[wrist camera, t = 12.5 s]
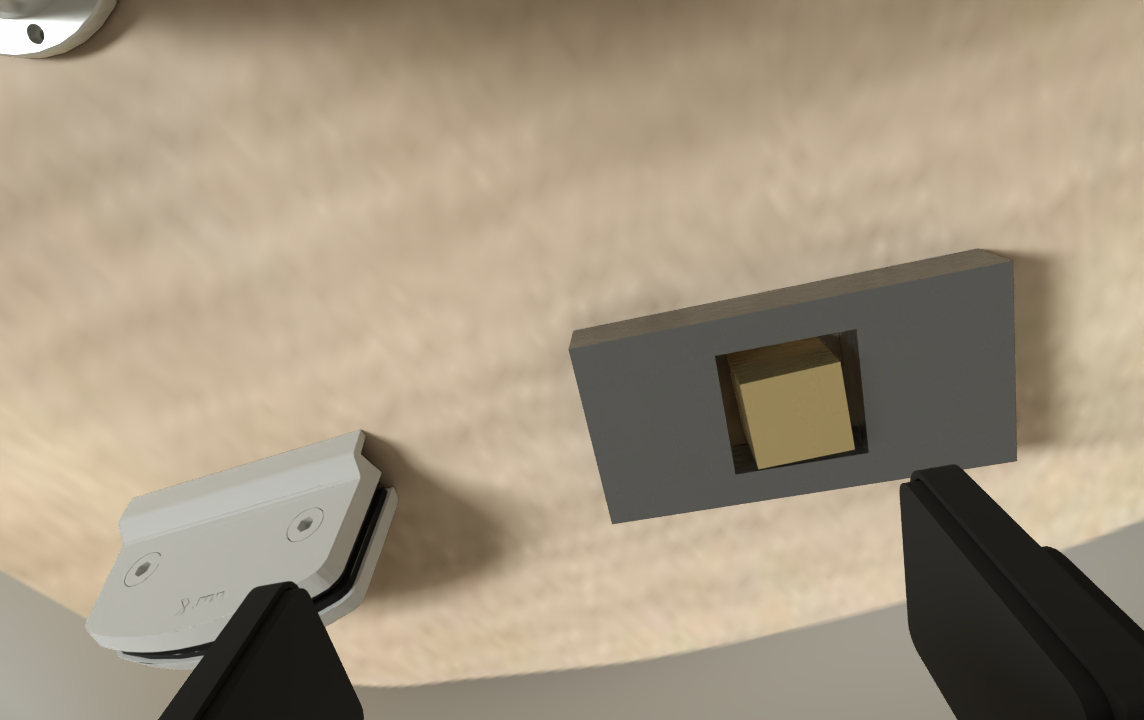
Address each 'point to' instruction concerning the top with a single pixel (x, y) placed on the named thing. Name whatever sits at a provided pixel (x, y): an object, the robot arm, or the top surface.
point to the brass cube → (791, 401)
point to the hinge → (242, 549)
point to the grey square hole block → (871, 374)
